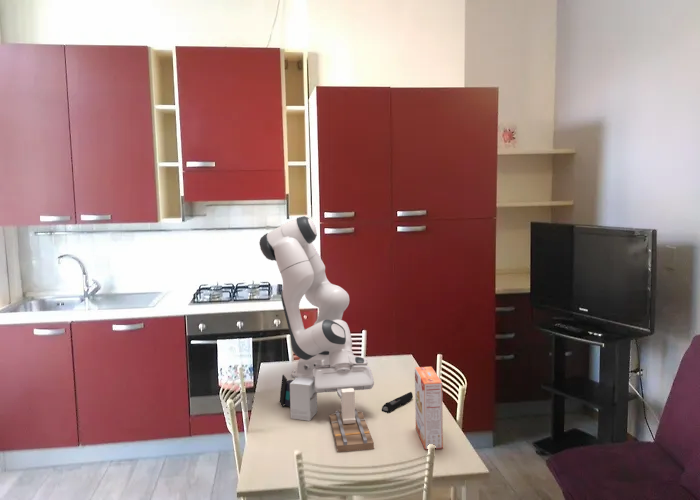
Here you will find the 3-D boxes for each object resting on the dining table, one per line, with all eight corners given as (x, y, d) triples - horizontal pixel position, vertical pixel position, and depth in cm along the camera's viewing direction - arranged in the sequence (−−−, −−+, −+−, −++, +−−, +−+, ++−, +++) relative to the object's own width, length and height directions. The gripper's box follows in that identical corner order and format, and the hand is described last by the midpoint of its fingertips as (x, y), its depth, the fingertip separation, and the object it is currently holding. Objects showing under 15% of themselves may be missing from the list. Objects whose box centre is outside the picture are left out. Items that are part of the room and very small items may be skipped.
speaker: (277, 407, 189) (279, 379, 188) (279, 401, 195) (281, 374, 194) (298, 409, 189) (300, 381, 188) (300, 403, 195) (302, 376, 194)
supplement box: (310, 421, 178) (309, 385, 177) (290, 418, 180) (288, 383, 179) (318, 412, 185) (317, 377, 184) (298, 409, 187) (297, 375, 186)
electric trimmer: (415, 401, 194) (415, 392, 194) (389, 414, 183) (389, 405, 182) (407, 398, 197) (407, 390, 196) (380, 411, 185) (380, 402, 185)
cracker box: (414, 428, 171) (414, 366, 169) (432, 427, 172) (432, 365, 169) (423, 450, 157) (423, 382, 155) (443, 449, 158) (443, 381, 155)
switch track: (329, 419, 179) (329, 411, 179) (361, 417, 180) (361, 408, 180) (337, 452, 157) (337, 442, 157) (373, 448, 159) (373, 439, 158)
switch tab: (341, 417, 175) (340, 387, 174) (353, 416, 176) (352, 386, 174) (343, 424, 170) (342, 393, 169) (355, 423, 171) (355, 392, 170)
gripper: (312, 362, 180) (315, 400, 172) (371, 358, 183) (377, 396, 175) (311, 370, 185) (314, 408, 177) (369, 366, 188) (374, 404, 180)
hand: (346, 402), depth 176 cm, fingers closed
